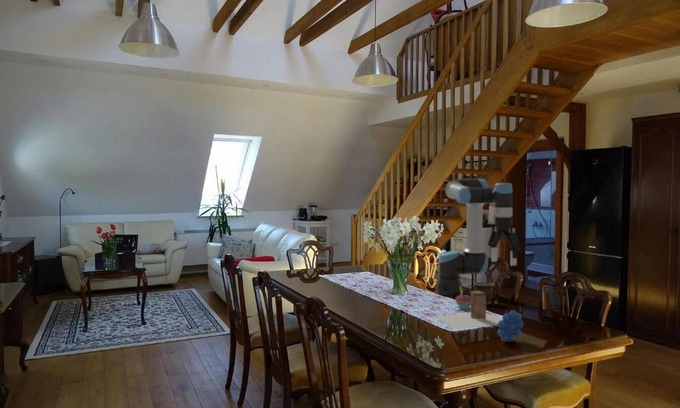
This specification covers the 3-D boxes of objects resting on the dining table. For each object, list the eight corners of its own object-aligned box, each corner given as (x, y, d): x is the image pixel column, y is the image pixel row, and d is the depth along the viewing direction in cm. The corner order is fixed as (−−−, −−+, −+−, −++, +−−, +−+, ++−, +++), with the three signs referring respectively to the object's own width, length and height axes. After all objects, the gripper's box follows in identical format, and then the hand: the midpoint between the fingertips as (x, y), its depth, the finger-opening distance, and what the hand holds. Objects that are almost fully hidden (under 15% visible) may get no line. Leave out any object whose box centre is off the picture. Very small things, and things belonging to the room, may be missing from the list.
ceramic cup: (491, 301, 252) (491, 282, 252) (495, 305, 242) (495, 285, 242) (466, 300, 254) (466, 281, 253) (469, 305, 244) (469, 285, 243)
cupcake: (453, 310, 234) (453, 285, 233) (457, 306, 241) (457, 282, 241) (471, 312, 230) (471, 287, 229) (475, 308, 237) (474, 284, 237)
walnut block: (470, 317, 218) (470, 291, 217) (479, 316, 219) (479, 290, 219) (477, 320, 213) (477, 293, 213) (485, 319, 214) (485, 293, 214)
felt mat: (433, 318, 220) (433, 316, 220) (482, 312, 228) (482, 311, 228) (457, 330, 201) (457, 328, 201) (509, 323, 209) (509, 322, 209)
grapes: (515, 336, 192) (515, 306, 191) (527, 341, 185) (527, 310, 185) (490, 339, 188) (490, 309, 188) (502, 344, 182) (501, 313, 181)
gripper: (480, 215, 229) (480, 260, 230) (515, 218, 206) (515, 267, 207) (493, 215, 232) (493, 259, 232) (529, 217, 208) (529, 266, 209)
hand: (503, 263), depth 220 cm, fingers open, 13 cm apart
